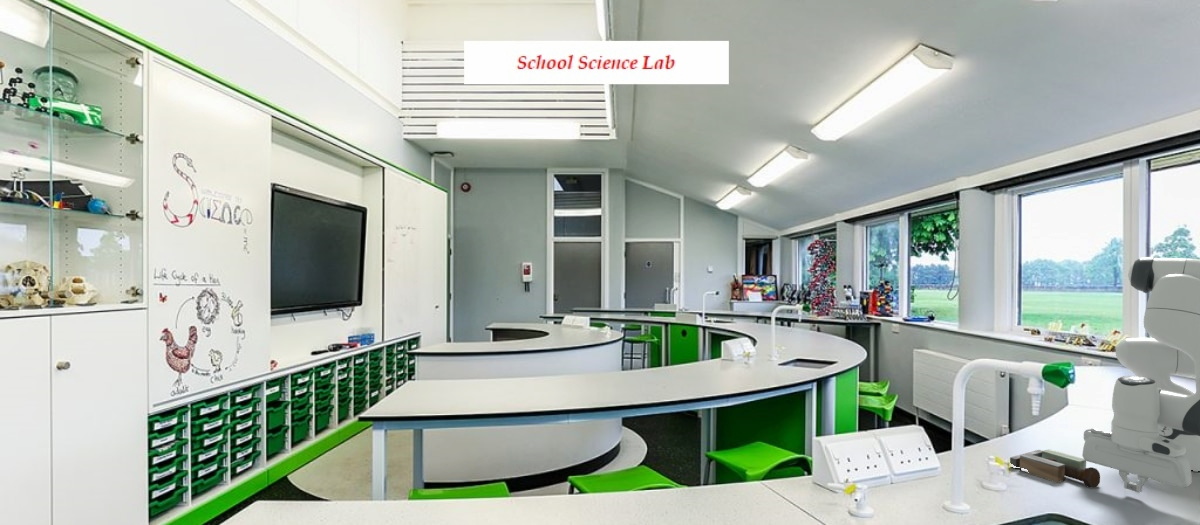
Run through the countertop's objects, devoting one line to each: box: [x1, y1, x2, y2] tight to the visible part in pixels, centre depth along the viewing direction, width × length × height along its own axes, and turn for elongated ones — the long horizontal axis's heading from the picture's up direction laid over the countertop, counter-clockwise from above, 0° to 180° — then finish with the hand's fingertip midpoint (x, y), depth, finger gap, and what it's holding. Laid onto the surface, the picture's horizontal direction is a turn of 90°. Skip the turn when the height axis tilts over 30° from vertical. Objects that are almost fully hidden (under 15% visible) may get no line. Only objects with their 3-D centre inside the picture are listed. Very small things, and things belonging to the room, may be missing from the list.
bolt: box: [1045, 457, 1101, 489], centre depth 148 cm, size 6×5×15 cm
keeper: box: [1009, 449, 1087, 483], centre depth 152 cm, size 17×12×4 cm
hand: (1132, 490), depth 136 cm, fingers closed
